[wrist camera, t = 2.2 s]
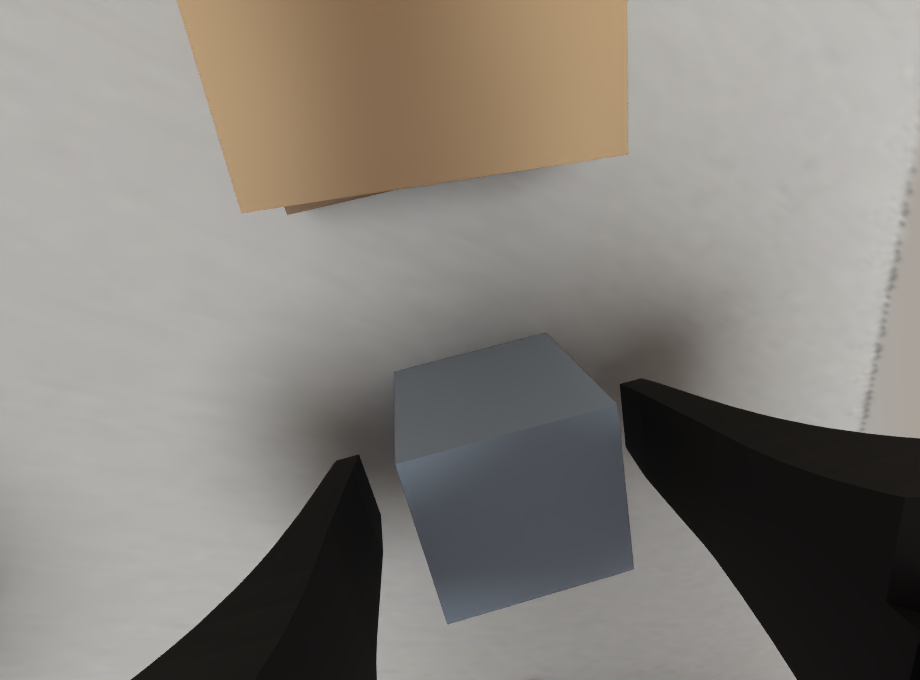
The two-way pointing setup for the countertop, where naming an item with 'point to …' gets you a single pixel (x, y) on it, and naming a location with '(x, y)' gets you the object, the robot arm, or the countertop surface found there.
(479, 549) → the cube
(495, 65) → the tower top
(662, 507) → the countertop surface
